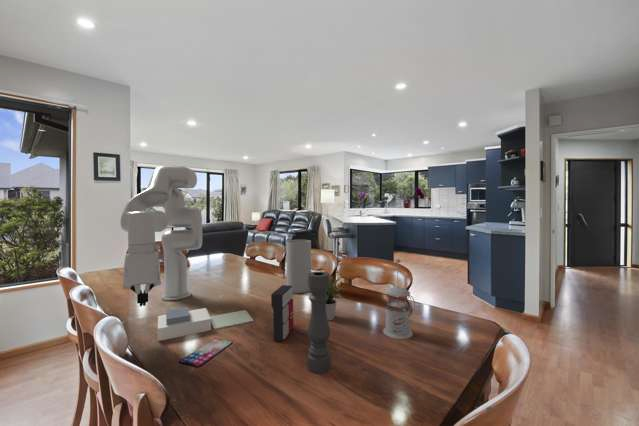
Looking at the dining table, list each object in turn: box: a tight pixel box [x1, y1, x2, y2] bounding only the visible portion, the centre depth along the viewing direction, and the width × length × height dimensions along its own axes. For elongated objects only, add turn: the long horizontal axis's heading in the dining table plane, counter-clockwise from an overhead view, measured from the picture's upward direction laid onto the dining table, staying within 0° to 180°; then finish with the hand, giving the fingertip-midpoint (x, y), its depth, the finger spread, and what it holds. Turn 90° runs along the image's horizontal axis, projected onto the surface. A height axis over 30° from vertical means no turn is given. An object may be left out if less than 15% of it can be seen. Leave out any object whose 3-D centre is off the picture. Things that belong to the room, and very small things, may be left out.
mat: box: [209, 309, 255, 330], centre depth 108 cm, size 12×14×1 cm
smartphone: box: [178, 338, 233, 369], centre depth 84 cm, size 8×1×15 cm
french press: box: [382, 258, 416, 340], centre depth 96 cm, size 10×12×25 cm
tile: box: [165, 306, 190, 325], centre depth 99 cm, size 9×7×2 cm
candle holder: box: [306, 271, 332, 375], centre depth 75 cm, size 6×6×25 cm
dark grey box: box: [270, 284, 294, 342], centre depth 95 cm, size 11×4×15 cm, turn 168°
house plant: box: [326, 275, 347, 321], centre depth 109 cm, size 14×14×16 cm
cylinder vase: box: [285, 239, 312, 294], centre depth 144 cm, size 12×12×25 cm
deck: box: [157, 307, 212, 342], centre depth 100 cm, size 12×16×4 cm
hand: (142, 304), depth 93 cm, fingers closed
